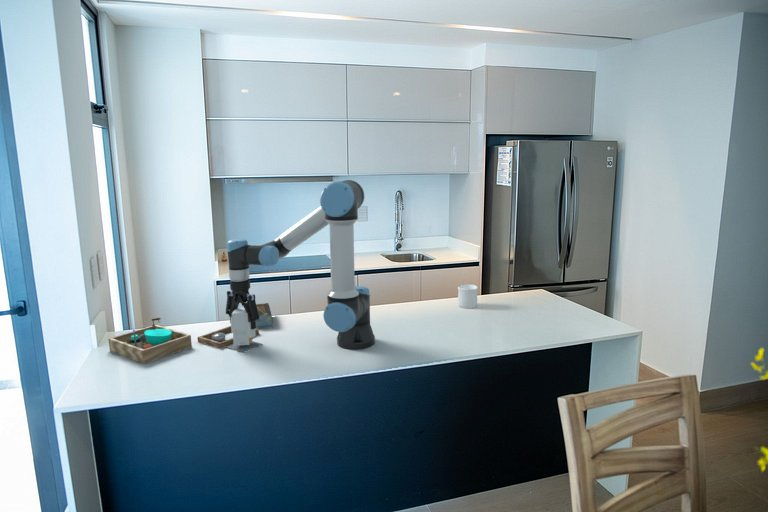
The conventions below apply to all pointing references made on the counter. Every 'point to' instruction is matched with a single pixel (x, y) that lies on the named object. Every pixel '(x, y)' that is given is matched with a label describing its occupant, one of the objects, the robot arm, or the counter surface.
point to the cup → (467, 296)
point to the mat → (244, 346)
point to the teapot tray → (153, 353)
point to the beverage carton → (264, 316)
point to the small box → (240, 327)
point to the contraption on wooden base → (151, 337)
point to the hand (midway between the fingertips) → (243, 334)
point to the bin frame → (206, 340)
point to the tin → (218, 337)
